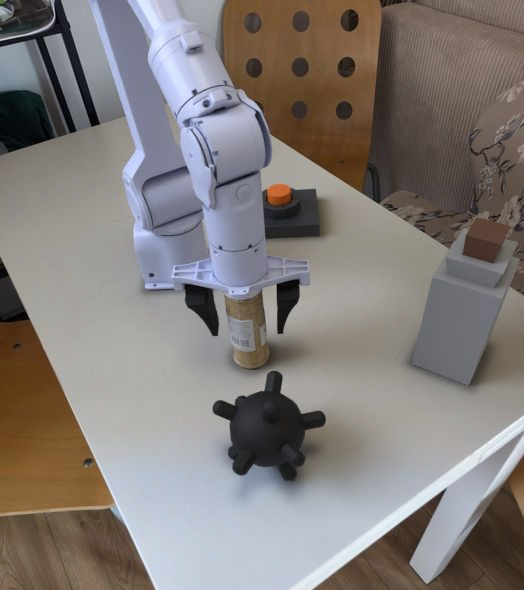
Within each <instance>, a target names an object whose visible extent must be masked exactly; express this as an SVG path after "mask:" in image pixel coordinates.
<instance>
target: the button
mask: <svg viewBox="0 0 524 590" xmlns="http://www.w3.org/2000/svg"><path fill="white" fill-rule="evenodd" d="M290 188H291V187H290V186H289V185H287V184H285V183H275V184H272V185H270V186H269V187H268V188H267V189H268V190H267V195H268V202H269V204H273V205H284V204H287V203H289V202H290V201H291V189H290Z"/></svg>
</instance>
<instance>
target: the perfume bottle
mask: <svg viewBox="0 0 524 590" xmlns="http://www.w3.org/2000/svg"><path fill="white" fill-rule="evenodd" d="M511 227H512V226H511V225H508V224H504V223H500V222H496V221H492V220H489V219H485V218H480V217H478V216H476V217H475V219H474V221H473V222H472V224H471V226H470V227H469V228H465V227H463V228H462V230H461V231H460V233H459V235H458V236H457V238H456V239H455V240H453V242H452V244H451V246H450V247H449V249H448V251H447V252H446V254H445V256H444V257H443V259H442V260H441V262H440V264H439V265H438V267H437V268H436V271H435V272H434V274H433V275H432V277H431V280H430V281H431V282H430V286H429V289H428V294H427V298H426V302H425V308H424V311H423V315H422V320H421V323H420V328H419V332H418V337H417V341H416V345H415V350H414V354H413V357H412V358H413V359H412V363H411V364H412V365H413V366H417V367H419V368H422V369H425V370H426V371H429V372H432V373H434V374H437V375H439V376H442V377H445V378H447V379H451V380H452V381H455V382H458V383H460V384H463V385H466V386H470V384H471V382H472V379H473V377H474V375H475V373H476V371H477V368H478V366H479V364H480V362H481V360H482V357H483V355H484V353H485V352H486V349H487V346H488V344H489V341H490V338H491V336H492V334H493V331H494V328H495V325H496V323H497V321H498V318H499V316H500V313H501V310H502V309H503V308H502V307H503V305H504V302H505V300H506V297H507V295H508V292H509V289H510V287H511V284H512V282H513V279H514V276H515V274H516V271H517V268H518V266H519V263H520V261H521V258H519V257H515V256H513V255H514V253H515V250H516V248H517V246H518V244H519V242H518V241H514V240H511V239H506V238H507V235H508V234H509V231H510V229H511Z"/></svg>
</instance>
